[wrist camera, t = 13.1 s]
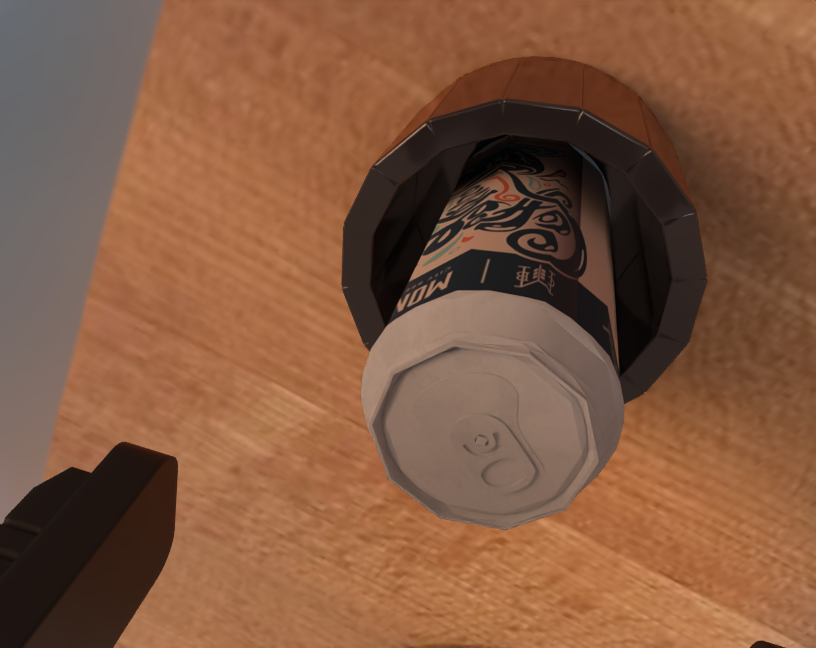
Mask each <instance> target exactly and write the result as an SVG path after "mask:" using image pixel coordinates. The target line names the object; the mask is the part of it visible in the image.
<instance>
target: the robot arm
mask: <svg viewBox="0 0 816 648" xmlns="http://www.w3.org/2000/svg"><path fill="white" fill-rule="evenodd" d="M177 475H178V463H177V459H176V458H175V457H173V456H170V455H167V454H163V453H160V452H157V451H154V450H150V449H147V448H144V447H141V446H137V445H134V444H131V443H128V442H121V443H119V444H118V445H116V446H115V447H114V448H113V449H112V450H111V451H110V452H109V454H108V455H107V456H106V457H105V458H104V459H103V460H102V462H101V463H100V464H99V465H98V466H97V467H96V468H95V470H94V471H93V472H92V473H90V472H87V471H83V470H80V469H77V468H74V467H71V468H69V469H67V470H65V471H63V472H62V473H60V474H58V475H56V476H54V477H52V478H51V479H49V480H47V481H45V482H43V483H42V484H40V485H38V486H36V487H34V488H33V489H32V490H31V491H30V492H29V493H28V494H27V495H26V496H25V497H24V499H22V500H21V502H20V503H19V504H18V505H17V506H16V507H15V508H14V509H13V510H12V511H11V512H10V513H9V514H8V515H7V516H6V517H5V520H4V523H3V524H2V525H1V524H0V648H113V647H114V645H115V644H116V642H117V641H118V639H119V637H120V636H121V634H122V633H123V631H124V630H125V628H126V626H127V625H128V623H129V622H130V620H131V619H132V617H133V616H134V614H135V612H136V611H137V609H138V608H139V606H140V605H141V603H142V601H143V600H144V598H145V597H146V595H147V594H148V592H149V591H150V589H151V587H152V586H153V584H154V583H155V581H156V580H157V578H158V576H159V575H160V573H161V571H162V569H163V567H164V565H165V562H166V560H167V558H168V555H169V552H170V549H171V546H172V542H173V538H174V531H175V513H176V494H177ZM750 648H785V647H782V646H778V645H775V644H772V643H769V642H765V641H757V642H755V643H754V644H753V645H752V646H751V647H750Z"/></svg>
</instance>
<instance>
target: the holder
mask: <svg viewBox="0 0 816 648" xmlns="http://www.w3.org/2000/svg"><path fill="white" fill-rule="evenodd" d="M509 135H512V136H520V137H528V138H536V139H544V140H552V141H560V142H567V143H570V144H572V145H574V146H575V147H577V148H579V149H581V150H582V151H584V152H585V153H586V154H587V155H588V156H589V157H590V158H591V159H592V160H593V161H594V162H595V163H596V165H597V166H598V168H599V169H600V171H601V172H602V174H603V176H604V179H605V181H606V183H607V186H608V190H609V195H610V200H611V214H610V224H611V241H612V258H613V275H614V291H615V308H616V325H617V342H618V358H619V375H620V384H621V390H622V395H623V401H624V404H626V403H627V402H629V401H631V400H633V399H635V398H637V397H639V396H641V395H643V394H644V392H647V390H648V389H649V388H650V387H651V386H652V385H653V384H654V382H655V381H656V380H657V379H658V378H659V377H660V375H661V374H662V373H663V372H664V371H665V370H666V369H667V367H668V366H669V365H670V364H671V363H672V362H673V361H674V359H675V358H676V357H677V356H678V355H679V354H680V353H681V351H682V350H683V349H684V348H685V347H686V346H687V343H689V341H690V338H691V334H692V331H693V328H694V324H695V321H696V318H697V314H698V311H699V308H700V304H701V301H702V298H703V294H704V291H705V288H706V285H707V271H706V265H705V259H704V253H703V247H702V241H701V235H700V229H699V223H698V217H697V212H696V209H695V206H694V203H693V200H692V197H691V194H690V191H689V189H688V186H687V183H686V180H685V177H684V174H683V171H682V168H681V166H680V163H679V160H678V157H677V154H676V151H675V148H674V146H673V143H672V142H671V140H670V139H669V137H668V136H667V134H666V133H665V132H664V130H663V128H662V127H661V125H660V123H659V122H658V120H657V118H656V117H655V115H654V114H653V113H652V112H651V110H650V109H649V108H648V107H647V105H646V104H645V103H644V102H643V100H642V99H641V97H640V96H637V94H636V93H634V92H633V91H631V90H630V89H629V88H628V87H627V86H625V85H624V84H622V83H621V82H619V81H618V80H616V79H615V78H614V77H612V76H610V75H608V74H606V73H604V72H602V71H600V70H598V69H596V68H594V67H591V66H588V65H585V64H582V63H579V62H576V61H572V60H566V59H561V58H555V57H536V56H532V57H522V58H512V59H508V60H504V61H500V62H495V63H492V64H489V65H487V66H484V67H481V68H479V69H476V70H474V71H472V72H470V73H467V74H465V75H463V77H459V78H458V79H457V80H456V81H455V82H453V83H452V84H451V85H449V86H448V87H447V88H445V89H444V90H443V91H441V92H440V93H439V94H438V95H437V96H436V97H435V98H434V99H433V100H432V101H431V102H430V103H428V104H427V105H426V106H425V107H424V108H422V109H421V110H420V111H419V112H418V113H417V114H416V115H415V117H414V118H413V119H412V120H411V121H410V122H409V124H408V125H407V126H406V127H405V128H404V129H403V131H402V132H401V133H400V134H399V135H398V136H397V138H396V139H395V140H394V141H393V142H392V143H391V145H390V146H389V147H388V148H387V149H386V150H385V151H384V153H383V154H382V155H381V156H380V157H379V158H378V160H377V161H376V162H375V163H374V164H373V165H372V167H371V168H370V170H369V172H368V174H367V176H366V179H365V181H364V183H363V185H362V187H361V189H360V191H359V193H358V195H357V197H356V199H355V201H354V203H353V205H352V207H351V209H350V211H349V213H348V215H347V217H346V219H345V222H344V226H343V248H342V283H341V284H342V290H343V293H344V295H345V298H346V301H347V303H348V306H349V308H350V311H351V313H352V316H353V318H354V321H355V324H356V326H357V329H358V331H359V334H360V336H361V339H362V342H363V343H364V345H365V347H366V348H367V349H368V350H369V351H370V350H371V348H372V347H373V345H374V344H375V342H376V341H377V340H378V338H379V337H380V335H381V334H382V332H383V331H384V329H385V328H386V326H387V325H388V323H389V321H390V319H391V317H392V315H393V312H394V310H395V308H396V306H397V304H398V302H399V300H400V298H401V296H402V294H403V292H404V290H405V288H406V286H407V284H408V282H409V280H410V278H411V276H412V274H413V272H414V270H415V268H416V266H417V264H418V262H419V260H420V258H421V256H422V254H423V252H424V250H425V248H426V246H427V244H428V242H429V240H430V238H431V236H432V233H433V231H434V229H435V227H436V225H437V223H438V221H439V219H440V217H441V215H442V213H443V211H444V209H445V207H446V205H447V203H448V201H449V199H450V197H451V195H452V193H453V190H454V187H455V184H456V181H457V179H458V176H459V174H460V172H461V171H462V169H463V168H464V166H465V164H466V163H467V162H468V160H469V159H470V158H471V157H472V156H474V155H475V154H476V153H477V152H479V151H480V150H481V149H483V148H484V147H486V146H487V145H488V144H490V143H492V142H494V141H496V140H499V139H501V138H503V137H505V136H509Z"/></svg>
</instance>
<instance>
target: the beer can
mask: <svg viewBox="0 0 816 648" xmlns="http://www.w3.org/2000/svg"><path fill="white" fill-rule="evenodd" d="M610 214H611V200H610V195H609V190H608V186H607V183H606V181H605V179H604V176H603V174H602V172H601V171H600V169H599V168H598V166H597V165H596V163H595V162H594V161H593V160H592V159H591V158H590V157H589V156H588V155H587V154H586V153H585V152H584V151H582V150H581V149H579V148H577V147H575V146H574V145H572V144H570V143H567V142H560V141H552V140H544V139H536V138H528V137H520V136H512V135H509V136H505V137H503V138H501V139H499V140H496V141H494V142H492V143H490V144H488V145H487V146H486V147H484V148H483V149H481V150H480V151H479V152H477V153H476V154H475V155H474V156H472V157H471V158H470V159H469V160H468V162H467V163H466V164H465V166H464V168H463V169H462V171H461V172H460V174H459V176H458V179H457V181H456V184H455V187H454V190H453V193H452V195H451V197H450V199H449V201H448V203H447V205H446V207H445V209H444V211H443V213H442V215H441V217H440V219H439V221H438V223H437V225H436V227H435V229H434V231H433V233H432V236H431V238H430V240H429V242H428V244H427V246H426V248H425V250H424V252H423V254H422V256H421V258H420V260H419V262H418V264H417V266H416V268H415V270H414V272H413V274H412V276H411V278H410V280H409V282H408V284H407V286H406V288H405V290H404V292H403V294H402V296H401V298H400V300H399V302H398V304H397V306H396V308H395V310H394V312H393V315H392V317H391V319H390V321H389V323H388V325H387V326H386V328H385V329H384V331H383V332H382V334H381V335H380V337H379V338H378V340H377V341H376V342H375V344H374V345H373V347H372V348H371V350H370V353H369V356H368V359H367V362H366V365H365V368H364V371H363V374H362V392H361V401H362V406H363V411H364V415H365V419H366V422H367V426H368V430H369V432H370V433H371V435H372V437H373V439H374V441H375V445H376V448H377V451H378V454H379V456H380V458H381V461H382V463H383V466H384V469H385V472H386V475H387V477H388V480H390V481H391V482H392V483H394V484H395V485H396V486H398V487H399V488H400V489H402V490H403V491H404V492H405V493H407V494H408V495H409V496H411V497H412V498H413V499H415V500H416V501H417V502H419V503H420V504H421V505H423V506H424V507H425V508H427V509H428V510H429V511H430V512H432V513H433V514H434V515H436V516H437V517H438V518H440V519H446V520H451V521H457V522H463V523H468V524H474V525H479V526H485V527H490V528H496V529H502V530H508V529H511V528H514V527H517V526H520V525H523V524H526V523H529V522H532V521H535V520H538V519H541V518H544V517H547V516H550V515H553V514H556V513H559V512H562V511H565V510H567V508H568V507H569V505H570V504H571V502H572V501H573V500H574V498H575V497H576V496H577V495H578V494H579V493H580V492H581V491H582V490H583V489H584V488H585V487H586V486H587V485H588V484H589V483H590V482H591V481H592V480H594V479H595V478H596V477H597V476H598V474H599V473H600V472H601V470H602V469H603V468H604V466H605V465H606V463H607V462H608V460H609V459H610V457H611V456H612V455H613V453H614V452H615V450H616V448H617V445H618V442H619V438H620V435H621V431H622V428H623V422H624V407H625V406H624V401H623V395H622V390H621V384H620V375H619V358H618V342H617V325H616V308H615V291H614V275H613V258H612V241H611V224H610Z"/></svg>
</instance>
